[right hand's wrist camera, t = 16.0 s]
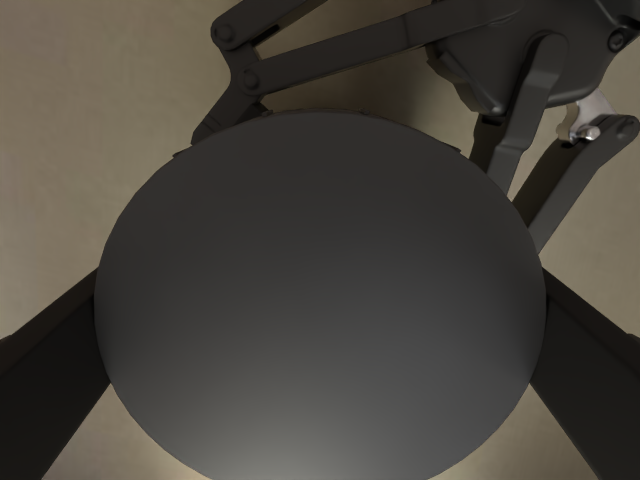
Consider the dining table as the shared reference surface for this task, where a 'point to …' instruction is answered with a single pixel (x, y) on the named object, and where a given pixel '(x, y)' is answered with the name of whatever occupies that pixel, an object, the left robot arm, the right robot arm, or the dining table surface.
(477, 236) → the lid
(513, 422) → the dining table surface
